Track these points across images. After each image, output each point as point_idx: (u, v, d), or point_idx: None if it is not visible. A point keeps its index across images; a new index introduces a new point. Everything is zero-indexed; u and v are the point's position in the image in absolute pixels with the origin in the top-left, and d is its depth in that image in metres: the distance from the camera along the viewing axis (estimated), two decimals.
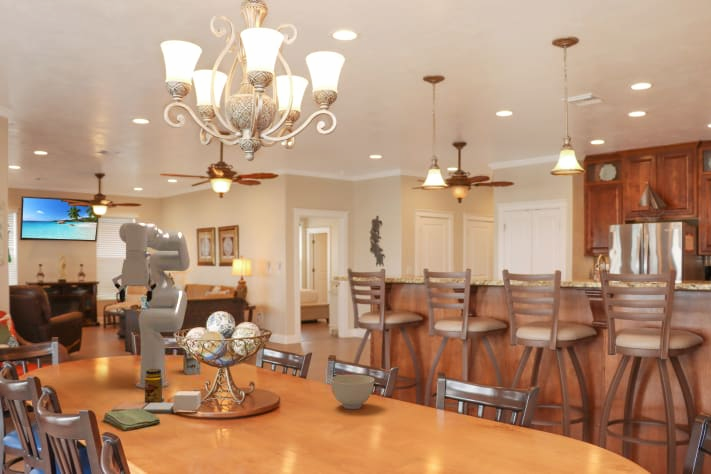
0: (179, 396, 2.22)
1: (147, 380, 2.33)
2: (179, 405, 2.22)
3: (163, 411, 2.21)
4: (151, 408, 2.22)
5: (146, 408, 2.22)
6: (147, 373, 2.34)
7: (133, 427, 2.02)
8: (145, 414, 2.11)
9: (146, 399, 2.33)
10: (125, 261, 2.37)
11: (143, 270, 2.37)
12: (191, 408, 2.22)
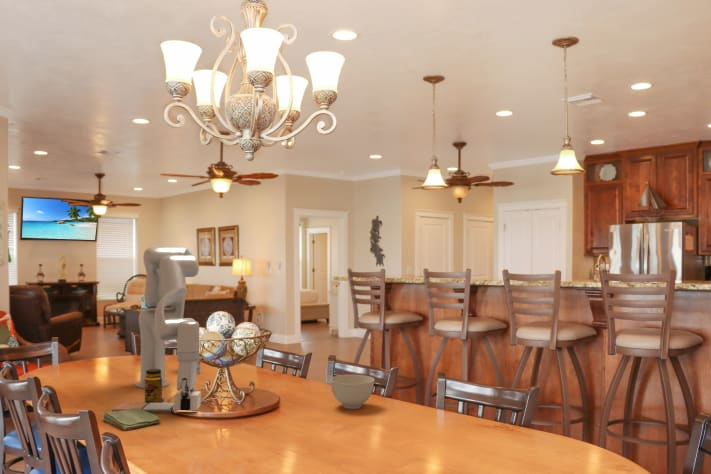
0: (179, 396, 2.22)
1: (147, 380, 2.33)
2: (179, 405, 2.22)
3: (163, 411, 2.21)
4: (151, 408, 2.22)
5: (146, 408, 2.22)
6: (147, 373, 2.34)
7: (133, 427, 2.02)
8: (145, 414, 2.11)
9: (146, 399, 2.33)
10: (192, 364, 2.22)
11: (196, 370, 2.28)
12: (191, 408, 2.22)
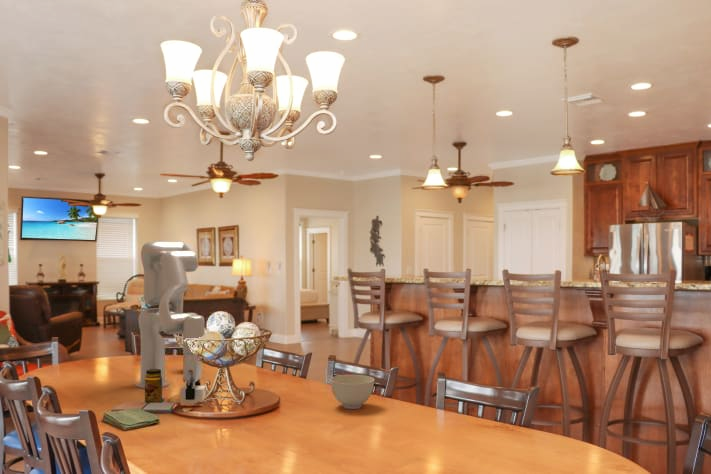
0: (185, 390, 2.31)
1: (147, 380, 2.33)
2: (185, 399, 2.31)
3: (163, 411, 2.21)
4: (151, 408, 2.22)
5: (146, 408, 2.22)
6: (147, 373, 2.34)
7: (133, 427, 2.02)
8: (144, 414, 2.11)
9: (146, 399, 2.33)
10: None
11: (201, 362, 2.37)
12: (196, 402, 2.31)
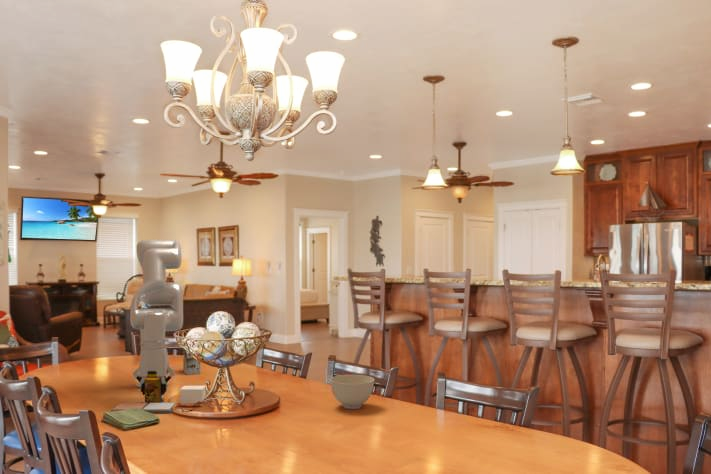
0: (185, 390, 2.31)
1: (147, 380, 2.33)
2: (185, 399, 2.31)
3: (163, 411, 2.21)
4: (151, 408, 2.22)
5: (146, 408, 2.22)
6: (147, 373, 2.34)
7: (133, 427, 2.02)
8: (144, 414, 2.11)
9: (146, 398, 2.33)
10: None
11: None
12: (196, 402, 2.31)
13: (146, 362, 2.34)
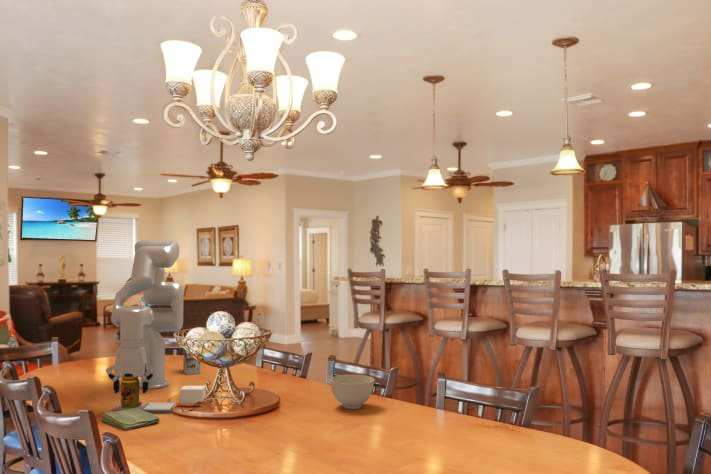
0: (185, 390, 2.31)
1: (123, 383, 2.22)
2: (185, 399, 2.31)
3: (163, 411, 2.21)
4: (151, 408, 2.22)
5: (146, 408, 2.22)
6: None
7: (133, 427, 2.02)
8: (144, 414, 2.11)
9: (122, 402, 2.22)
10: None
11: None
12: (196, 402, 2.31)
13: (122, 361, 2.22)
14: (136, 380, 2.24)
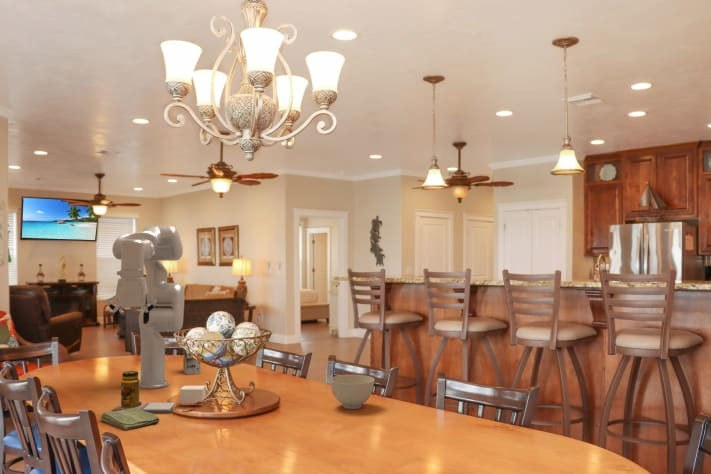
0: (185, 390, 2.31)
1: (123, 383, 2.22)
2: (185, 399, 2.31)
3: (163, 411, 2.21)
4: (151, 408, 2.22)
5: (146, 408, 2.22)
6: (123, 375, 2.23)
7: (134, 426, 2.02)
8: (144, 413, 2.11)
9: (122, 402, 2.22)
10: None
11: None
12: (196, 402, 2.31)
13: (123, 291, 2.23)
14: (136, 380, 2.24)
